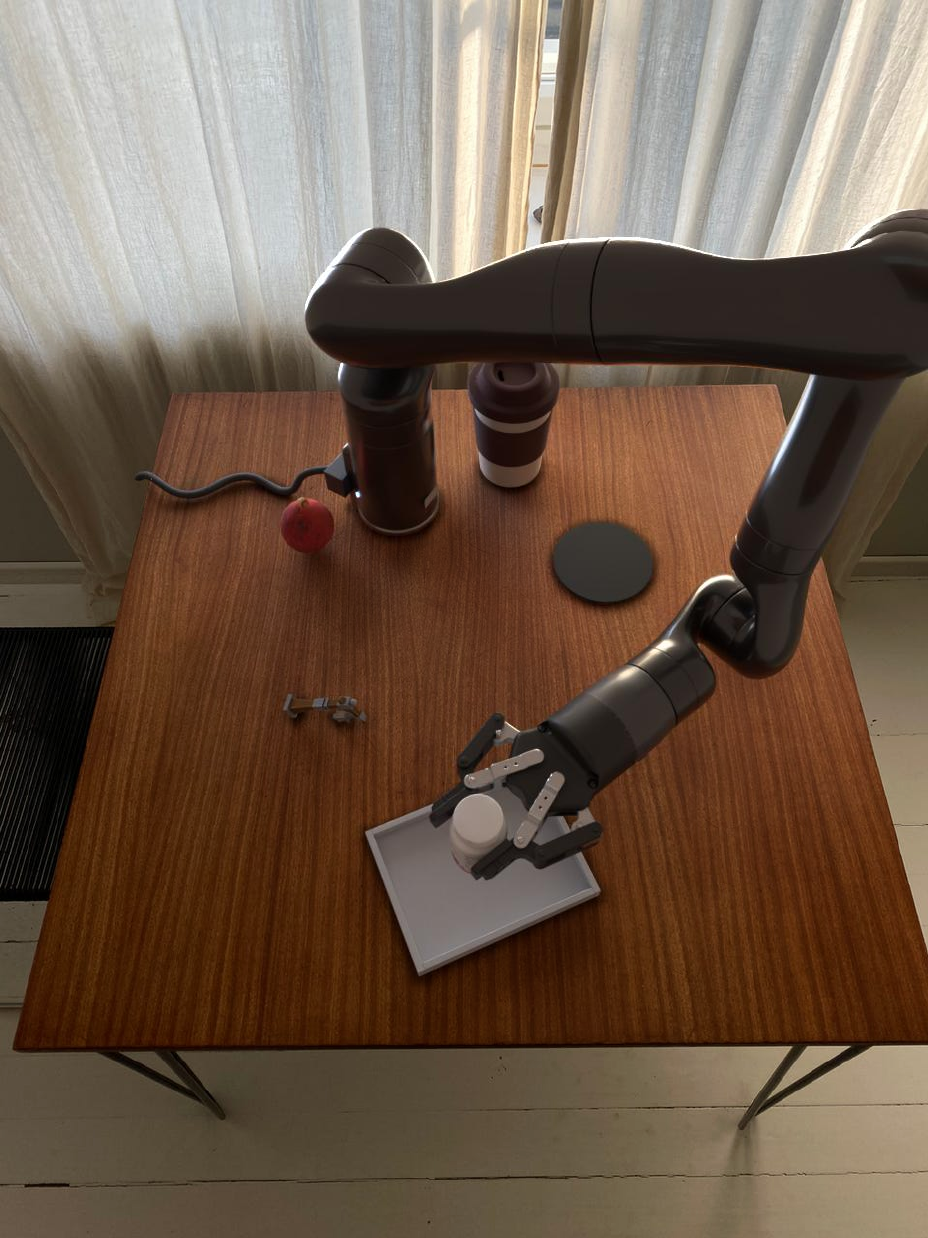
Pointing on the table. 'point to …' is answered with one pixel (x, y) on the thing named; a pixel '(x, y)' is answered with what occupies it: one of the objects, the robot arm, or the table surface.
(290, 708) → the wooden post with brackets
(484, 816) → the pill bottle
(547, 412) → the coffee cup
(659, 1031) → the table surface
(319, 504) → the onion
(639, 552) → the mat
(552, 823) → the tray
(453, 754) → the table surface
